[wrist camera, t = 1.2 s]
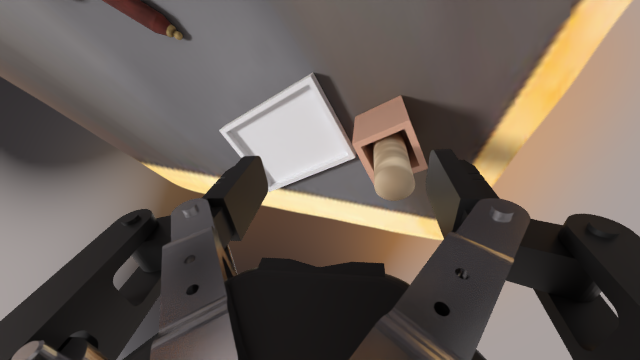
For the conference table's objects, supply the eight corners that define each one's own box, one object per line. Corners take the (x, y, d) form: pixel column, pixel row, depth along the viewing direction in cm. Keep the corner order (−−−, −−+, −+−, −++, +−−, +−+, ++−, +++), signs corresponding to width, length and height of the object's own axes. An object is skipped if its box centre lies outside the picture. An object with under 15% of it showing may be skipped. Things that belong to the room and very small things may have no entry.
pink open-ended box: (400, 95, 34) (409, 119, 26) (416, 136, 37) (428, 168, 30) (355, 116, 36) (351, 144, 29) (373, 153, 40) (374, 186, 32)
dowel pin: (394, 111, 34) (407, 163, 23) (404, 135, 36) (420, 193, 25) (368, 123, 36) (368, 177, 25) (378, 145, 38) (383, 204, 26)
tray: (313, 72, 34) (310, 75, 32) (355, 151, 40) (355, 157, 38) (224, 125, 41) (219, 130, 40) (272, 185, 47) (269, 191, 46)
